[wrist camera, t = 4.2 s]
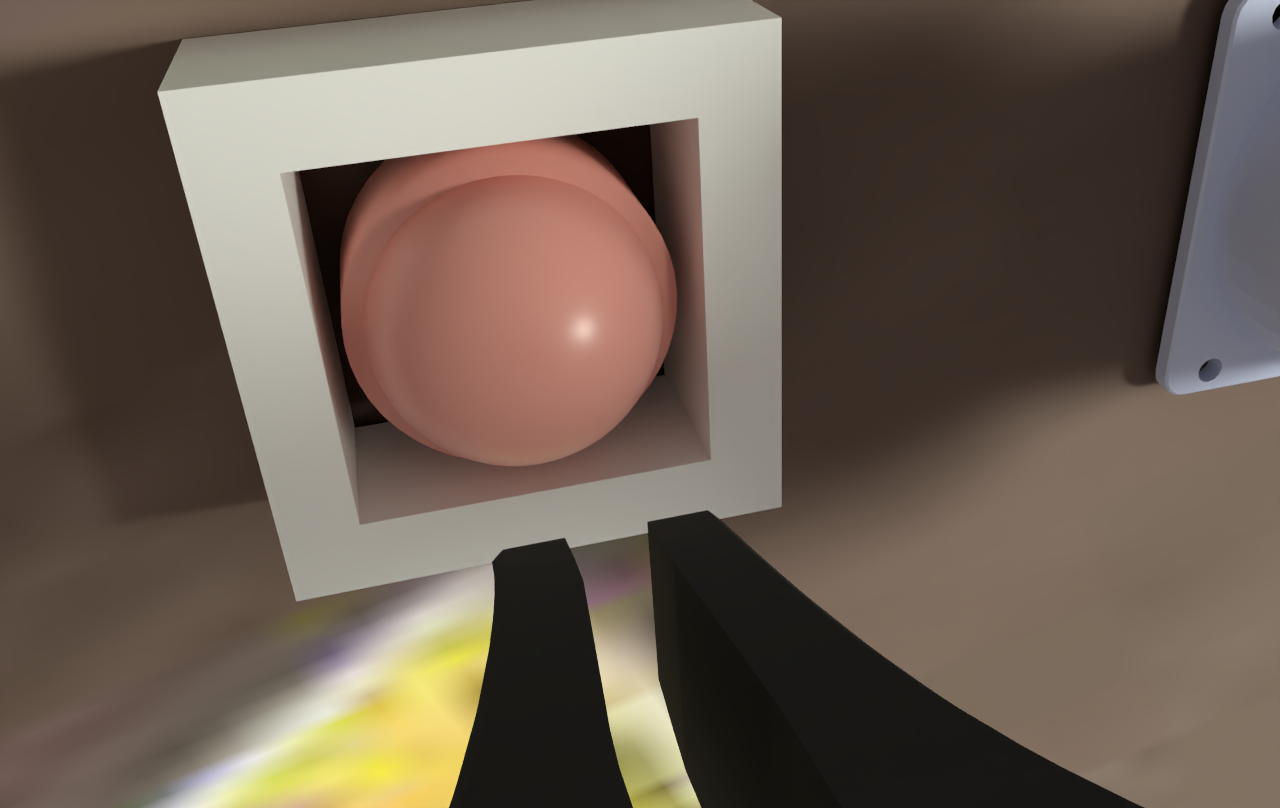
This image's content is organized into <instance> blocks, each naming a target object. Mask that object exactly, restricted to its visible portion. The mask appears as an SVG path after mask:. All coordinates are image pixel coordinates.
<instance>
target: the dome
mask: <svg viewBox="0 0 1280 808" xmlns="http://www.w3.org/2000/svg"><path fill="white" fill-rule="evenodd" d="M340 298H341V326H342V333H343V340H344V346H345V350H346V353H347V357H348V360H349V363H350V366H351V368H352V370H353V373H354V375H355V377H356V379H357V381H358V383H359V385H360V387H361V388H362V390H363V391H364V393H365V394H366V396H367V397H368V399H369V400H370V401H371V403H372V404H373V405H374V406H375V407H376V408H377V410H378V411H379V412H380V413H381V414H382V415H383V416H384V417H385V418H386V419H387V420H388V421H390V422H391V423H392V424H393V425H394V426H395V427H396V428H398V429H399V430H401V431H402V432H404V433H405V434H407V435H408V436H410V437H411V438H413V439H414V440H416V441H418V442H420V443H422V444H424V445H426V446H428V447H430V448H432V449H435V450H438V451H441V452H443V453H446V454H449V455H452V456H457V457H461V458H466V459H469V460H472V461H476V462H480V463H485V464H489V465H498V466H529V465H537V464H543V463H547V462H551V461H555V460H558V459H561V458H564V457H567V456H570V455H572V454H574V453H576V452H579V451H581V450H583V449H585V448H587V447H588V446H590V445H592V444H593V443H595V442H596V441H598V440H600V439H601V438H602V437H604V436H605V435H606V434H607V433H609V432H610V431H611V430H612V429H614V428H615V427H616V426H617V425H618V424H619V423H620V422H621V421H622V420H623V419H624V418H625V417H626V415H627V414H628V413H629V411H630V410H631V409H632V408H633V406H634V405H635V404H636V402H637V401H638V400H639V399H640V397H641V396H642V395H643V393H644V392H645V391H646V390H647V388H648V387H649V386H650V384H651V383H652V381H653V379H654V378H655V376H656V374H657V373H658V371H659V369H660V367H661V365H662V363H663V361H664V358H665V356H666V354H667V352H668V349H669V346H670V342H671V339H672V335H673V332H674V326H675V320H676V314H677V288H676V279H675V272H674V269H673V265H672V261H671V257H670V254H669V251H668V249H667V247H666V245H665V242H664V240H663V238H662V235H661V234H660V232H659V230H658V229H657V227H656V226H655V224H654V222H653V221H652V219H651V218H650V216H649V215H648V213H647V212H646V210H645V209H644V208H643V206H642V205H641V203H640V202H639V200H638V199H637V198H636V196H635V195H634V193H633V192H632V190H631V189H630V188H629V186H628V185H627V183H626V182H625V180H624V179H623V178H622V176H621V175H620V174H619V172H618V171H617V170H616V169H615V168H614V166H613V165H612V164H611V163H610V162H609V161H608V160H607V159H606V158H605V157H604V156H603V155H602V154H601V153H600V152H599V151H597V150H596V149H595V148H594V147H593V146H591V145H590V144H588V143H587V142H585V141H584V140H582V139H581V138H580V137H578V136H576V135H574V134H572V135H565V136H557V137H550V138H542V139H534V140H527V141H519V142H512V143H504V144H497V145H489V146H482V147H474V148H467V149H459V150H452V151H444V152H436V153H429V154H421V155H414V156H406V157H399V158H391V159H386V160H385V161H383V162H382V163H381V165H380V166H379V167H378V168H377V169H376V170H375V171H374V173H373V174H372V175H371V176H370V177H369V178H368V180H367V181H366V183H365V185H364V186H363V188H362V189H361V191H360V192H359V194H358V195H357V197H356V199H355V201H354V204H353V206H352V208H351V210H350V212H349V214H348V218H347V221H346V224H345V227H344V231H343V235H342V241H341V248H340Z"/></svg>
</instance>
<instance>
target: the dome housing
mask: <svg viewBox="0 0 1280 808" xmlns="http://www.w3.org/2000/svg"><path fill="white" fill-rule="evenodd" d="M157 93H158V96H159V100H160V104H161V107H162V111H163V115H164V118H165V122H166V126H167V129H168V133H169V137H170V140H171V144H172V148H173V151H174V155H175V159H176V162H177V166H178V170H179V173H180V177H181V181H182V184H183V188H184V192H185V195H186V199H187V203H188V206H189V210H190V214H191V217H192V221H193V225H194V228H195V232H196V236H197V239H198V243H199V247H200V250H201V254H202V258H203V261H204V265H205V268H206V272H207V276H208V279H209V283H210V287H211V290H212V294H213V298H214V301H215V305H216V309H217V312H218V316H219V320H220V323H221V327H222V331H223V334H224V338H225V342H226V345H227V349H228V353H229V356H230V360H231V364H232V367H233V371H234V375H235V378H236V382H237V386H238V389H239V393H240V397H241V400H242V404H243V408H244V411H245V415H246V419H247V422H248V426H249V430H250V433H251V437H252V441H253V444H254V448H255V452H256V455H257V459H258V463H259V466H260V470H261V474H262V477H263V481H264V485H265V488H266V492H267V496H268V499H269V503H270V507H271V510H272V514H273V518H274V521H275V525H276V529H277V532H278V536H279V540H280V543H281V547H282V551H283V554H284V558H285V562H286V565H287V569H288V573H289V576H290V580H291V584H292V587H293V591H294V595H295V598H296V601H301V600H306V599H311V598H316V597H322V596H327V595H332V594H337V593H342V592H347V591H352V590H358V589H363V588H368V587H373V586H378V585H383V584H388V583H394V582H399V581H404V580H409V579H414V578H419V577H424V576H429V575H435V574H440V573H445V572H450V571H455V570H460V569H465V568H471V567H476V566H481V565H486V564H491V563H492V561H493V560H494V559H495V558H496V557H497V555H498V554H499V553H500V552H501V551H502V550H504V549H509V548H514V547H519V546H524V545H530V544H535V543H540V542H545V541H550V540H555V539H561V538H565V539H566V541H567V543H568V545H569V547H570V548H573V547H578V546H584V545H589V544H594V543H599V542H604V541H609V540H614V539H620V538H625V537H630V536H635V535H640V534H645V533H648V524H647V522H649V521H654V520H659V519H664V518H669V517H675V516H680V515H685V514H690V513H695V512H701V511H706V510H708V511H710V512H711V513H712V514H714V515H715V516H717V517H718V518H719V519H722V518H727V517H733V516H738V515H743V514H748V513H753V512H758V511H763V510H769V509H774V508H779V507H782V18H781V17H780V16H778V15H776V14H774V13H773V12H771V11H769V10H768V9H766V8H764V7H762V6H761V5H759V4H757V3H756V2H754V1H752V0H530V1H521V2H512V3H503V4H495V5H486V6H477V7H468V8H459V9H450V10H441V11H432V12H423V13H414V14H405V15H396V16H387V17H378V18H369V19H360V20H351V21H342V22H334V23H325V24H316V25H307V26H298V27H289V28H280V29H271V30H262V31H253V32H244V33H235V34H226V35H217V36H208V37H199V38H190V39H182V41H181V43H180V45H179V47H178V50H177V52H176V54H175V56H174V58H173V60H172V62H171V64H170V66H169V68H168V71H167V73H166V75H165V77H164V79H163V81H162V83H161V85H160V87H159V89H158V91H157ZM648 124H650V137H651V154H652V171H653V188H654V205H655V222H656V227H657V229H658V230H659V232H660V234H661V235H662V238H663V240H664V242H665V245H666V247H667V249H668V251H669V254H670V257H671V261H672V265H673V269H674V272H675V279H676V288H677V314H676V320H675V326H674V332H673V335H672V339H671V342H670V346H669V349H668V352H667V354H666V356H665V358H664V375H661V376H655V378H654V379H653V381H652V383H651V384H650V386H649V387H648V388H647V390H646V391H645V392H644V393H643V395H642V396H641V397H640V399H639V400H638V401H637V402H636V404H635V405H634V406H633V408H632V409H631V410H630V411H629V413H628V414H627V415H626V417H625V418H624V419H623V420H622V421H621V422H620V423H619V424H618V425H617V426H616V427H615V428H614V429H612V430H611V431H610V432H609V433H607V434H606V435H605V436H604V437H602V438H601V439H600V440H598V441H596V442H595V443H593V444H592V445H590V446H588V447H587V448H585V449H583V450H581V451H579V452H576V453H574V454H572V455H570V456H567V457H564V458H561V459H558V460H555V461H551V462H547V463H543V464H537V465H529V466H498V465H489V464H485V463H480V462H476V461H472V460H469V459H466V458H461V457H457V456H452V455H449V454H446V453H443V452H441V451H438V450H435V449H432V448H430V447H428V446H426V445H424V444H422V443H420V442H418V441H416V440H414V439H413V438H411V437H410V436H408V435H407V434H405V433H404V432H402V431H401V430H399V429H398V428H396V427H395V426H394V425H393V424H392V423H391V422H386V423H380V424H374V425H368V426H362V427H357V428H355V425H354V421H353V416H352V412H351V407H350V403H349V398H348V393H347V389H346V384H345V380H344V375H343V371H342V366H341V361H340V357H339V352H338V348H337V343H336V339H335V334H334V329H333V325H332V320H331V316H330V311H329V307H328V302H327V297H326V293H325V288H324V284H323V279H322V274H321V270H320V265H319V261H318V256H317V252H316V247H315V242H314V238H313V233H312V229H311V224H310V220H309V215H308V210H307V206H306V201H305V197H304V192H303V188H302V183H301V178H300V174H299V171H301V170H308V169H316V168H323V167H331V166H338V165H346V164H354V163H361V162H369V161H376V160H384V159H391V158H399V157H406V156H414V155H421V154H429V153H436V152H444V151H452V150H459V149H467V148H474V147H482V146H489V145H497V144H504V143H512V142H519V141H527V140H534V139H542V138H550V137H557V136H565V135H572V134H580V133H587V132H595V131H602V130H610V129H617V128H625V127H633V126H640V125H648Z"/></svg>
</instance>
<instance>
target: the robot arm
mask: <svg viewBox="0 0 1280 808" xmlns="http://www.w3.org/2000/svg"><path fill="white" fill-rule="evenodd" d="M1279 4H1280V0H1229V1H1228V2H1227V4H1226V5H1225V8H1224V11H1223V14H1222V16H1221V21H1220V27H1219V32H1218V38H1217V43H1216V48H1215V54H1214V59H1213V65H1212V70H1211V75H1210V81H1209V86H1208V91H1207V97H1206V102H1205V108H1204V113H1203V118H1202V124H1201V129H1200V135H1199V140H1198V145H1197V151H1196V156H1195V161H1194V167H1193V172H1192V178H1191V183H1190V188H1189V194H1188V199H1187V205H1186V210H1185V215H1184V221H1183V226H1182V232H1181V237H1180V242H1179V248H1178V253H1177V258H1176V264H1175V269H1174V275H1173V280H1172V285H1171V291H1170V296H1169V302H1168V307H1167V312H1166V318H1165V323H1164V328H1163V334H1162V339H1161V345H1160V350H1159V355H1158V361H1157V366H1156V380H1157V381H1158V383H1159V385H1161V386H1162V387H1163V388H1165V389H1166V390H1167V391H1169V392H1171V393H1172V394H1174V395H1183V394H1188V393H1194V392H1199V391H1204V390H1209V389H1215V388H1220V387H1225V386H1231V385H1236V384H1241V383H1247V382H1252V381H1257V380H1262V379H1268V378H1273V377H1278V376H1280V17H1279V18H1278V19H1277V20H1276V21H1275V22H1274V23H1272V16H1273V13H1274V11H1275V9H1276V7H1277V6H1278V5H1279ZM1208 360H1209V361H1208ZM1206 361H1208V363H1207V365H1206V366H1205V367H1204V368H1203V369H1202V370H1201V371H1199V370H1200V368H1201V366H1202V365H1203V364H1204V363H1205V362H1206ZM647 524H648V538H649V552H650V566H651V579H652V593H653V607H654V621H655V635H656V648H657V662H658V676H659V682H660V685H661V689H662V692H663V695H664V699H665V702H666V706H667V709H668V713H669V716H670V720H671V723H672V727H673V730H674V733H675V737H676V740H677V743H678V746H679V750H680V753H681V756H682V760H683V763H684V766H685V769H686V772H687V774H688V777H689V779H690V782H691V784H692V786H693V789H694V791H695V793H696V796H697V798H698V800H699V803H700V805H701V808H1144V807H1141V806H1139V805H1137V804H1135V803H1133V802H1131V801H1129V800H1127V799H1125V798H1123V797H1121V796H1119V795H1117V794H1115V793H1113V792H1111V791H1109V790H1107V789H1105V788H1103V787H1101V786H1099V785H1096V784H1094V783H1092V782H1090V781H1088V780H1086V779H1084V778H1082V777H1080V776H1078V775H1076V774H1074V773H1072V772H1070V771H1068V770H1066V769H1064V768H1062V767H1060V766H1058V765H1057V764H1055V763H1053V762H1051V761H1049V760H1047V759H1045V758H1044V757H1042V756H1040V755H1038V754H1036V753H1034V752H1032V751H1031V750H1029V749H1027V748H1025V747H1023V746H1022V745H1020V744H1018V743H1016V742H1015V741H1013V740H1011V739H1010V738H1008V737H1006V736H1005V735H1003V734H1001V733H1000V732H998V731H996V730H994V729H993V728H991V727H989V726H988V725H986V724H984V723H983V722H981V721H979V720H978V719H976V718H974V717H972V716H971V715H969V714H967V713H966V712H964V711H962V710H961V709H959V708H958V707H956V706H954V705H953V704H951V703H950V702H948V701H947V700H945V699H944V698H942V697H941V696H939V695H938V694H936V693H935V692H933V691H932V690H930V689H929V688H927V687H926V686H924V685H923V684H922V683H920V682H919V681H917V680H916V679H914V678H913V677H912V676H910V675H909V674H907V673H906V672H905V671H903V670H902V669H900V668H899V667H897V666H896V665H895V664H893V663H892V662H890V661H889V660H888V659H886V658H885V657H884V656H882V655H881V654H880V653H878V652H877V651H875V650H874V649H873V648H871V647H870V646H869V645H867V644H866V643H865V642H863V641H862V640H861V639H859V638H858V637H857V636H856V635H854V634H853V633H852V632H851V631H849V630H848V629H847V628H846V627H844V626H843V625H842V624H841V623H839V622H838V621H837V620H836V619H834V618H833V617H832V616H831V615H829V614H828V613H827V612H826V611H824V610H823V609H822V608H821V607H819V606H818V605H817V604H816V603H814V602H813V601H812V600H811V599H809V598H808V597H807V596H806V595H805V594H803V593H802V592H801V591H800V590H799V589H798V588H796V587H795V586H794V585H793V584H792V583H790V582H789V581H788V580H787V579H786V578H785V577H784V576H782V575H781V574H780V573H779V572H778V571H777V570H776V569H774V568H773V567H772V566H771V565H770V564H769V563H768V562H766V561H765V560H764V559H763V558H762V557H761V556H760V555H759V554H757V553H756V552H755V551H754V550H753V549H752V548H751V547H750V546H749V545H747V544H746V543H745V542H744V541H743V540H742V539H741V538H740V537H739V536H738V535H737V534H735V533H734V532H733V531H732V530H731V529H730V528H729V527H728V526H727V525H726V524H725V523H724V522H722V521H721V520H720V519H719V518H718V517H717V516H715V515H714V514H712V513H711V512H710V511H708V510H706V511H701V512H695V513H690V514H685V515H680V516H675V517H669V518H664V519H659V520H654V521H649V522H647ZM492 564H493V571H494V579H495V599H494V614H493V624H492V632H491V639H490V647H489V653H488V658H487V663H486V668H485V673H484V679H483V684H482V689H481V694H480V699H479V704H478V708H477V713H476V717H475V721H474V724H473V728H472V732H471V735H470V739H469V742H468V746H467V749H466V753H465V757H464V760H463V764H462V767H461V771H460V774H459V778H458V782H457V785H456V788H455V791H454V795H453V798H452V801H451V804H450V807H449V808H633V807H632V804H631V801H630V798H629V795H628V792H627V789H626V786H625V783H624V780H623V777H622V774H621V771H620V768H619V765H618V761H617V757H616V752H615V748H614V744H613V740H612V736H611V732H610V727H609V722H608V716H607V710H606V705H605V699H604V694H603V688H602V682H601V677H600V671H599V666H598V660H597V654H596V649H595V643H594V638H593V632H592V627H591V621H590V615H589V610H588V604H587V599H586V593H585V588H584V582H583V579H582V576H581V574H580V571H579V569H578V566H577V564H576V561H575V559H574V556H573V554H572V552H571V550H570V547H569V545H568V543H567V541H566V539H565V538H561V539H555V540H550V541H545V542H540V543H535V544H530V545H524V546H519V547H514V548H509V549H504V550H502V551H501V552H500V553H499V554H498V555H497V557H496V558H495V559H494V560H493V561H492Z"/></svg>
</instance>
